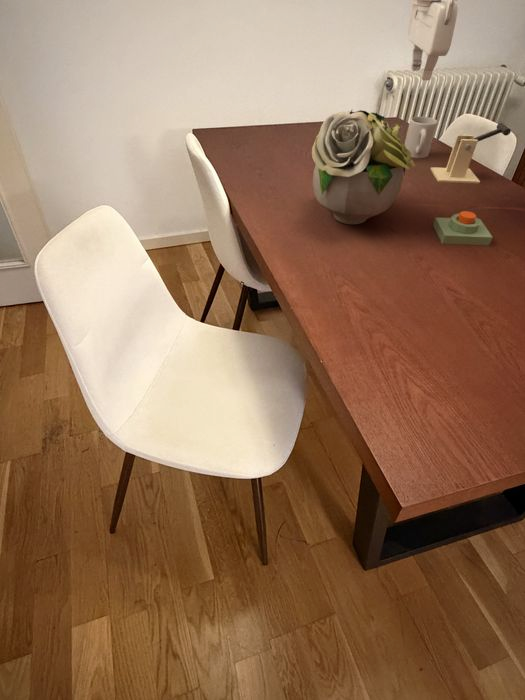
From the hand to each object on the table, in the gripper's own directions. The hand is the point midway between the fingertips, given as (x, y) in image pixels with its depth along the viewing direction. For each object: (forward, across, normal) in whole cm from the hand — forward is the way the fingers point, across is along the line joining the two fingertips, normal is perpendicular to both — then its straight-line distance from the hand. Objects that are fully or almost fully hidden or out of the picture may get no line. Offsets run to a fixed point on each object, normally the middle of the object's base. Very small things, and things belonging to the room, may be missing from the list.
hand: (419, 74), depth 86 cm
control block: (+31, -12, -15) cm, 36 cm away
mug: (+31, +40, -15) cm, 53 cm away
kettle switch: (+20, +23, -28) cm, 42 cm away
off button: (+27, -12, -15) cm, 33 cm away
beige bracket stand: (+31, +23, -23) cm, 45 cm away
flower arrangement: (+30, -5, +11) cm, 33 cm away
